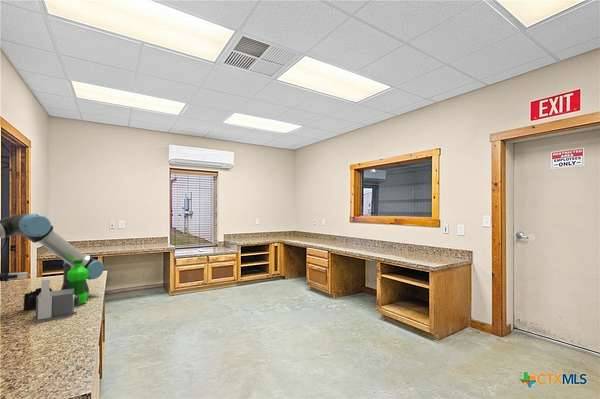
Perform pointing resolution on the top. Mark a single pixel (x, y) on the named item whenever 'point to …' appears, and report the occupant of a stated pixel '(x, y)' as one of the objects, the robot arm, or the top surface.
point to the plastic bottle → (78, 280)
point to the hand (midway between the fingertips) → (27, 275)
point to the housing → (60, 304)
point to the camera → (31, 299)
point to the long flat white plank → (45, 301)
